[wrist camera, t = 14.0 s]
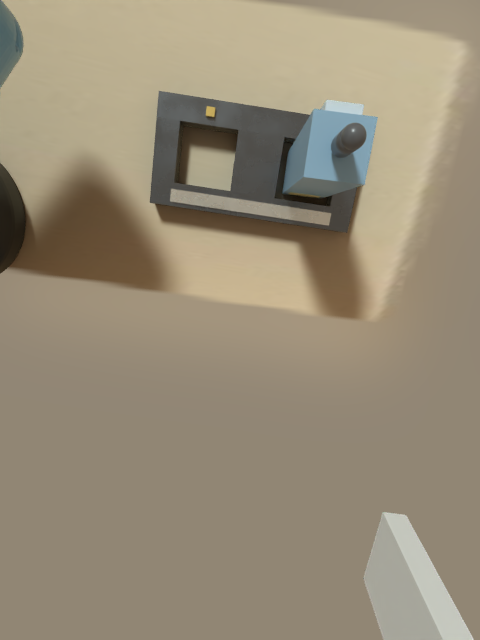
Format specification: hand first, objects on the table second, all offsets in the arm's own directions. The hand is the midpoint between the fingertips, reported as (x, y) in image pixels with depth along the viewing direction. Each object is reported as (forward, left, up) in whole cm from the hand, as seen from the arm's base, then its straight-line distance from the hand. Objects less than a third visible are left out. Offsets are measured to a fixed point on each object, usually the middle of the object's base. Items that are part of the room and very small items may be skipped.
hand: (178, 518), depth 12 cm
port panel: (+1, +15, -31) cm, 34 cm away
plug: (+6, +15, -31) cm, 35 cm away
